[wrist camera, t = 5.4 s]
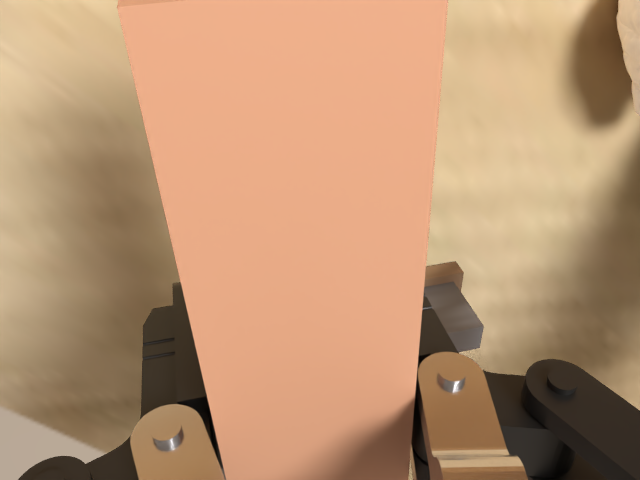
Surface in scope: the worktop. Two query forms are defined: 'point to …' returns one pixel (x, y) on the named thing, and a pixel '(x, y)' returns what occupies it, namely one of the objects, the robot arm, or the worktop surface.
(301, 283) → the terracotta clay brick
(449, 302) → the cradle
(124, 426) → the worktop surface
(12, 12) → the worktop surface
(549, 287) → the worktop surface
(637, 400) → the worktop surface
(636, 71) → the garlic bulb
